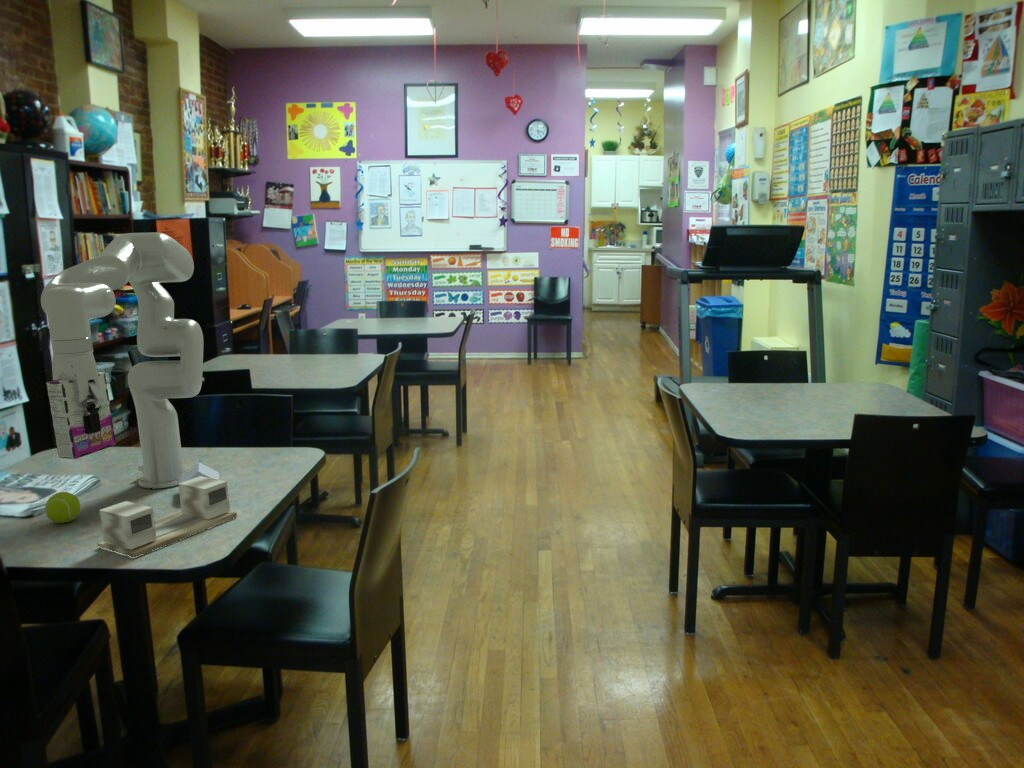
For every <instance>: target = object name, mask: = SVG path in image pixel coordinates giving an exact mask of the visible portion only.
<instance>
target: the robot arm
mask: <svg viewBox="0 0 1024 768" xmlns="http://www.w3.org/2000/svg"><path fill="white" fill-rule="evenodd" d="M194 270H195V264H194V259H193V257H192V255H191V253H190V252H189V250H188V249H186V248H185V247H184V246H183V245H182V244H180V243H179V242H178V241H177V240H175V239H174V238H172V237H171V236H170V235H167V234H166V233H163V232H158V231H156V232H152V231H151V232H127V233H122V234H118V235H117V236H116V237H114V238H113V240H112V241H110V243H108V244H107V245H106V247H105V248H104V249H103V250H102V251H101V252H100V253H98V255H97V256H95V257H94V258H91V259H88V260H85V261H83V262H81V263H78V264H76V265H73V266H71V267H68V268H66V269H64V270H62V271H60V272H58V273H57V274H55V276H54V277H52V278H51V280H49V282H47V283H46V285H45V286H44V288H43V290H42V292H41V295H40V305H41V308H42V310H43V312H44V313H45V315H46V317H47V322H48V323H47V324H48V329H49V336H50V342H51V343H50V344H51V349H52V350H51V351H52V359H51V361H52V362H51V366H52V367H51V369H52V370H51V371H52V372H51V373H52V381H54V380H58V379H67V380H72V383H73V389H74V396H75V402H76V403H82V407H83V410H84V413H85V415H84V416H83V420H84V427H85V433H86V434H91V433H95V432H99V431H101V425H100V418H99V413H100V407H101V404H102V402H103V401H104V398H103V397H102V395H101V389H100V381H99V376H98V372H99V371H98V368H97V367H98V366H97V362H96V360H95V359H96V358H95V357H94V345H93V339H92V338H93V337H92V330H91V324H90V319H96V318H97V319H98V318H104V317H106V316H109V314H111V313H112V312H113V310H114V309H115V307H116V303H117V302H116V295H115V293H114V290H118V289H122V287H123V288H124V287H125V286H126V285H128V283H129V284H130V286H131V287H132V291H133V292H134V293H135V296H136V299H137V303H138V307H137V308H138V312H137V316H138V317H137V334H136V344H137V349H138V352H139V353H140V354H141V355H142V356H146V357H152V358H153V357H154V358H162V357H163V358H164V357H180V360H150V361H143V362H138V363H137V364H136V363H135V364H134V365H133V366H132V367H131V368H130V369H129V371H128V374H127V383H128V387H129V391H130V393H131V396H132V400H133V403H134V408H135V413H136V419H137V428H138V436H139V443H140V451H141V460H142V461H141V462H142V464H141V465H139V466H138V467H137V470H138V471H139V472H142V477H140V478H139V479H138V481H137V482H138V486H139V487H140V488H143V489H150V488H152V489H165V488H166V489H167V488H171V487H175V486H179V485H178V483H181V477H182V476H184V475H185V474H186V473H187V472H188V471H187V470H184V463H183V462H184V461H183V452H182V444H181V436H180V427H179V418H178V417H179V416H178V413H177V411H176V409H175V407H174V406H173V404H172V403H171V402H170V400H169V399H186V398H187V399H188V398H189V399H190V398H193V397H195V396H197V395H198V394H199V393H200V391H201V389H202V386H203V370H204V369H203V367H204V334H203V330H202V328H201V326H200V324H199V323H198V322H197V321H195V320H194V319H189V318H175V301H174V299H173V298H172V296H171V294H170V293H169V292H168V291H167V290H166V288H164V287H163V285H161V283H182V282H186V281H188V280H190V279H191V278H192V276H193V274H194ZM87 397H91V399H88V400H86V399H87ZM91 402H92V403H91ZM87 403H91V404H90V406H89V408H88V405H87ZM152 489H151V490H152Z"/></svg>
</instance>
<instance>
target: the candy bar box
mask: <svg viewBox="0 0 1024 768" xmlns="http://www.w3.org/2000/svg"><path fill="white" fill-rule="evenodd" d="M98 376H99V381H100V389H101V395H102V397H103V398H104V401H103V402H102V404H101V407H100V413H99V418H100V425H101V431H99V432H95V433H91V434H86V433H85V427H84V420H83V416H84V415H85V413H84V410H83V407H82V403H76V402H75V396H74V389H73V383H72V380H67V379H58V380H54V381H53V380H49V381H46V382H45V385H46V389H47V395H48V401H49V402H48V403H49V406H50V413H51V420H52V426H53V430H54V437H55V443H56V448H57V449H56V450H57V454H58V458H60V459H66V460H68V459H69V460H70V459H71V460H77V459H79V458H82V457H85V456H88V455H92V454H94V453H97V452H100V451H102V450H105V449H108V448H110V447H113V446H116V444H117V442H116V436H115V431H114V422H113V417H112V411H111V403H110V398H109V390H108V384H107V379H106V377H107V376H106V371H98ZM88 399H91V397H87V399H86V400H88ZM91 403H92V402H91ZM91 403H87V405H88V408H89V406H90V404H91Z"/></svg>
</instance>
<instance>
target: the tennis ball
mask: <svg viewBox="0 0 1024 768" xmlns="http://www.w3.org/2000/svg"><path fill="white" fill-rule="evenodd" d="M44 510H45V511H44V512H45V515H46V517H47V518H48V519H49V520H50V521H52V522H54V523H56V524H65V523H64V522H67V523H69V521H70V522H72V521H73V520H75V519H76V518H77V517H78V515H79V513H80V511H81V503H80V500H79V498H78V497H77V496H76V495H74V494H73V493H71V492H67V491H61V492H57V493H54V494H53V495H51V496H50V497H49V498H48V499H47V501H46V503H45V506H44Z"/></svg>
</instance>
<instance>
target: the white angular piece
mask: <svg viewBox="0 0 1024 768" xmlns="http://www.w3.org/2000/svg"><path fill="white" fill-rule="evenodd" d="M199 476H203V477H208V478H213V479H218V480H220V472H219V471H216V470H215V469H214V468H211V467H209V466H208V465H205V464H203V463H202V462H197V463H196V464H195V465H194V466H193V467H191V469H189V470H188V471H187V473H186V474H185V475H184V476H182V477H181V482H184V481H187V480H190V479H193V478H196V477H199Z"/></svg>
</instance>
